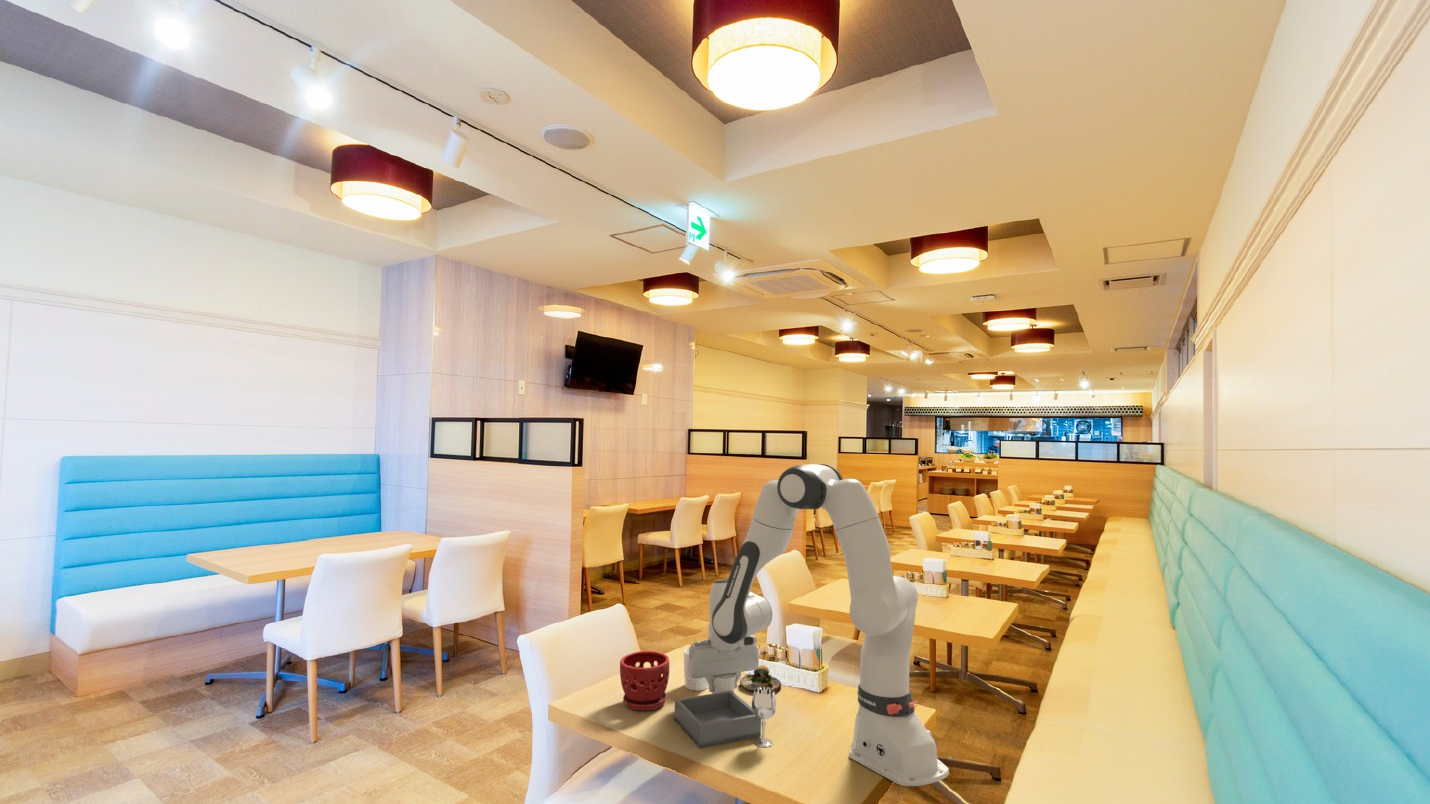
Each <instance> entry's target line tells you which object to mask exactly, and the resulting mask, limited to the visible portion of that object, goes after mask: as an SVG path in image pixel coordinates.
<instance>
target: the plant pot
mask: <svg viewBox="0 0 1430 804" xmlns="http://www.w3.org/2000/svg"><path fill="white" fill-rule="evenodd" d="M655 662H656V663H657V665H655ZM637 663H639V665H638V666H636V664H637ZM646 663H648V664H650V666H649V667H645V664H646ZM619 673H620V674H619V677H620V683H621V687H622V690H623V693H624V695H623V699H622V701H623V702H624V704H625V706H627V707H628V708H630V709H632V710H637V711H652V710H655V709H658V708H660V707H662V706H663V705H664V704H665V703H666V701H667V699H668V695H667V693H666V691H667V688H668V683H669V679H670V658H669V656H668V655H666V653H665V654H664V653H662V652H659V651H651V650H643V651H642V650H641V651H635V652H631V653H628V654H626V655H624V656H622V658H621V659H620V661H619Z"/></svg>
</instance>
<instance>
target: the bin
mask: <svg viewBox="0 0 1430 804" xmlns="http://www.w3.org/2000/svg"><path fill="white" fill-rule="evenodd" d="M673 721H674V722H675V723H676V724H677V725H678V726H679V727H680V728H681V730H683V731H684V733H685V734H686V735H687V736H688V737H689V739H691V740H692V742H694V744H695V745H696V746H697V747H698V748H699V749H704V748H709V747H714V746H719V745H723V744H728V743H729V744H731V743H734V742H739V741H743V740H749V739H750V740H751V739H754V738H755V739H756V738H761V737H762V735H761V734H762V732H761V731H762V719H760V718H758V717H756V716H755V715H754V713H753V711H752V705H750V704H748V703H747V702H746V701H745V700H744V699H742V698H741V697H740V696H739V695H737V694H736V693H735V691H734V692H732V691H726V692H720V693H714V694H712V693H709V694H708V693H707V694H703V695H695V696H691V697H684V698H675V699H674V715H673Z"/></svg>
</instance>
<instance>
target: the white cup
mask: <svg viewBox="0 0 1430 804" xmlns="http://www.w3.org/2000/svg"><path fill="white" fill-rule="evenodd" d="M689 648H690V646H689V647H686V648H685V649H684V650H683V672H684V673H683V674H684V687H685V689H687V690H689V691H695V692H700V691H705V690H706V689H709V684H708V682H707V680H706V678H705V677H703V678H696V679H694V678H693V677H691V676H690V674H689V673H688V662H689Z"/></svg>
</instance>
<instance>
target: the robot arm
mask: <svg viewBox="0 0 1430 804" xmlns="http://www.w3.org/2000/svg"><path fill="white" fill-rule="evenodd" d="M820 508H821V509H823V510H825V511H826V512H827V515H829V517H830V520H831V522H832V523H831V524H832V526H833V528H834V531H835V534H836V538H837V540H838V543H839V546H840V549H841V552H842V555H843V559H844V562H845V567H846V573H847V579H848V580H847V581H848V586H849V592H850V593H849V595H850V604H849V617H850V620H851V623H852V624H853V626H855V628H856V629H857V630H858V631H859V632H861V633H862V634H864V635H865V636H864V639H863V643H862V646H861V649H860V658H859V659H860V663H859V665H860V669H859V670H860V671H859V672H860V673H859V684H858V686H857V702H858V710H857V713H856V717H855V721H854V730H853V738H852V743H851V748H850V749H849V752H848V753H849V754H848V757H849V758H850V759H852V760H854V761H855V762H857V763H859V764H861V765H862V766H864V767H866V768H868V769H869V770H872V771H874V772H875V773H876V774H879V775H881V776H883V777H884V778H886V779H888V780H889V781H892V782H893V783H895V784H898V785H900V786H902V787H903V786H904V787H919V786H925V785H929V784H930V785H931V784H933V783H936V782H939V781H942V780H943V779H946V778H947V777H948V776H949V774H950V770H949V767H948V766H947V765H946V764H944V763H943V762H942V761H941V760H940V759H938V750H937V744H936V742H935V739H934V738H933V735H932V732H931V731H930V730H928V729H927V728H926V726H925V724H923V723H922V721H921V719H920V718H919V716H918V715H917V713H916V712H915V710H916V707H918V705H917V703H918V702H919V701H918V700H915V701H914V700H913V696H912V692H911V690H910V660H911V659H910V657H911V648H912V642H913V637H914V636H913V635H914V628H915V619H916V611H917V607H918V602H919V594H918V590H917V588H916V587H915V585H914V584H913V583H912V582H911V581H910V580H909V579H908V578H905V577H903V576H898V575H894V574H893V567H892V563H891V547H890V543H889V541H888V537H887V535H886V533H885V530H884V527H883V524H882V521H881V519H880V517H879V513H878V511H877V509H876V506H875V504H874V502H873V499H872V498H871V496H870V494H869V491H868V490H867V489H866V487H865V486H864V484H863V483H862V481H859V480H858V479H854V478H843V476H842V474H841V473H840V471H839V470H838V469H837V468H835V467H834V466H831V465H828V464H824V463H819V464H816V463H815V464H814V463H805V464H801V465H794V466H791V467H788V468H787V469H786V470H784V471H783V472H782V473H781V475H780V476H779V478H778V479H773V480H769V481H768V482H766V483H765V484H764V486H763V487H762V489H761V491H760V493H759V496H758V498H757V501H756V503H755V507H754V510H753V513H752V518H751V522H750V525H749V528H748V532H747V534H746V536H745V539H744V541H743V543H742V545H741V546H740V548H739V550H738V552H737V554H736V557H735V559H734V562H733V564H732V568H731V571H730V574H729V576H728V578H721V579H717V580H715V581H714V582H713V583H712V585H711V586H710V587H711V588H710V592H709V601H708V602H709V603H708V613H709V623H708V633H707V634H708V635H707V636H708V637H707V640H701V641H700V640H698V641H694V643H692V644H691V645H690V646H689V647H690V648H689V647H688V648H689V662H688V673H689V674H690V676H691V677H693V678H694V679H696V678H703V677H705V678H706V680H707V682H708V691H709V692H710V693H712V692H715V686H714V685H713V683H712V681H711V680H713V676H717V675H723V674H730V673H736V677H735V686H734V690H735V689H738V682H740V680H741V678H742V673H744V672H749V671H754V670H756V669H757V667H758V666H760V665H759V663H760V662H759V661H760V660H759V659H760V658H759V656H760V655H759V649H758V646H757V643H758V642H757V641H758V639H757V637H756V636H755V635H756V634H757V633H759V632H762V631H764V630H765V629H767V628H768V627H769V626H771V623H772V619H773V610H772V606H771V604H770V603H769V601H768V600H767V598H765V597H764V596H762V595H759V594H756V593H755V592H752V591H751V590H752V587H753V584H754V581H755V579H756V577H757V575H758V574H759V572H760V571H761V570H762V569H763V568H764V567H765V566H766V565H767V564H768V563H770V562H771V561H773V560H775V558H777V557H779V556H781V555H782V554H783V553H784V552H785V551H786V549H787V548H788V546H789V544H790V541H791V539H792V536H793V532H794V528H795V522H796V518H797V516H798V513H799V511H800V510H818V509H820Z"/></svg>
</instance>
